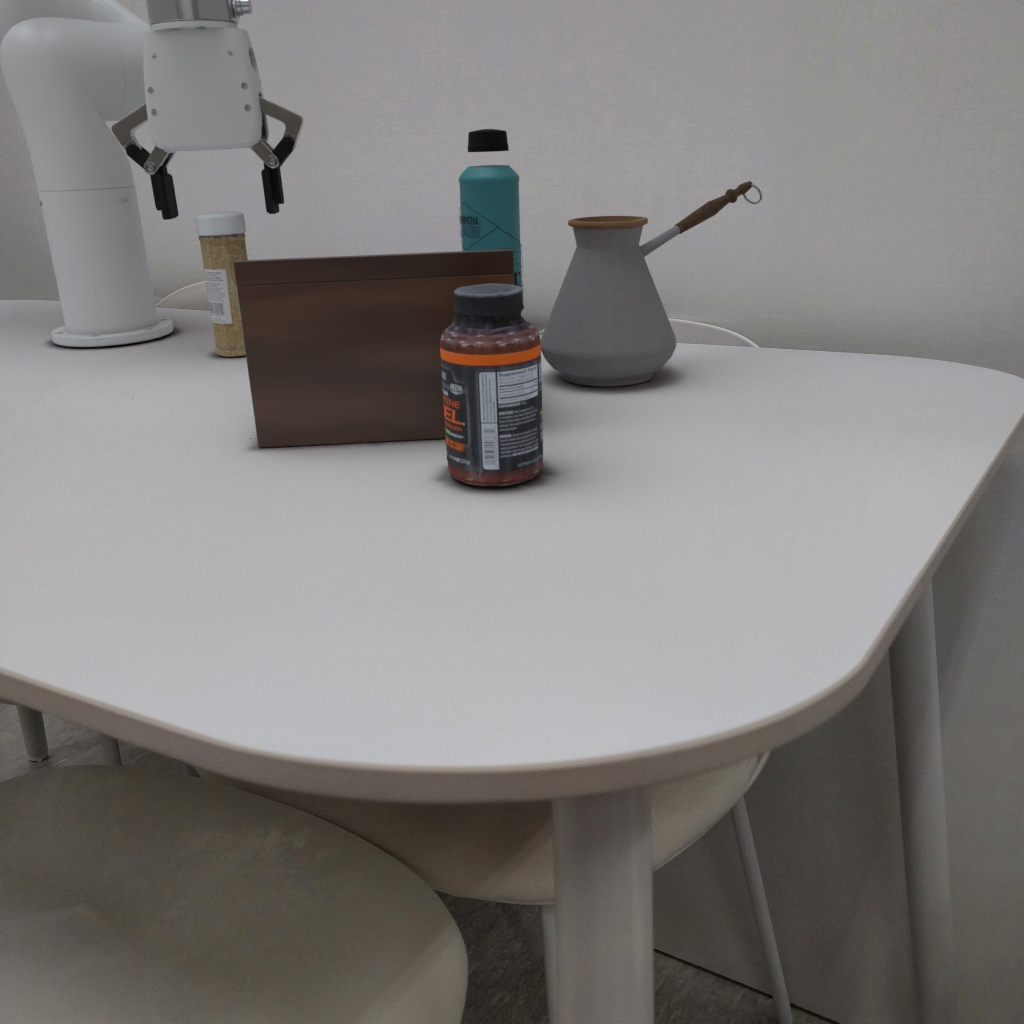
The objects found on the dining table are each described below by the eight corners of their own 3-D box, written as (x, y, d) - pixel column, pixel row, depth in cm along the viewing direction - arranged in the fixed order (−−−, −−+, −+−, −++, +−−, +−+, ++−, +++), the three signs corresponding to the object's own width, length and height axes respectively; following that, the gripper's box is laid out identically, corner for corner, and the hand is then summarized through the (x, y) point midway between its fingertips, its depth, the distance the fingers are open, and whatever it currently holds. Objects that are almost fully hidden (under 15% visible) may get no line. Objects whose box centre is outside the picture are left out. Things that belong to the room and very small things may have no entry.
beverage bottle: (488, 320, 109) (480, 129, 101) (537, 325, 105) (532, 127, 98) (451, 330, 104) (440, 130, 97) (501, 336, 100) (493, 128, 93)
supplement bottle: (434, 467, 61) (421, 286, 57) (520, 453, 63) (514, 277, 59) (468, 496, 56) (456, 299, 52) (560, 480, 58) (556, 289, 54)
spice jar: (268, 353, 96) (250, 212, 91) (223, 360, 94) (202, 215, 89) (252, 346, 100) (234, 210, 95) (208, 352, 98) (187, 213, 93)
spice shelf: (293, 390, 81) (274, 237, 77) (506, 380, 82) (501, 227, 78) (258, 448, 66) (232, 261, 62) (519, 434, 67) (513, 249, 63)
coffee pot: (588, 400, 75) (587, 197, 70) (515, 373, 84) (509, 192, 79) (792, 362, 85) (805, 182, 79) (706, 342, 94) (712, 179, 89)
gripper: (296, 15, 90) (318, 208, 96) (107, 24, 89) (142, 218, 95) (283, 4, 83) (308, 213, 89) (78, 13, 82) (117, 223, 88)
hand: (222, 215), depth 92 cm, fingers open, 9 cm apart
